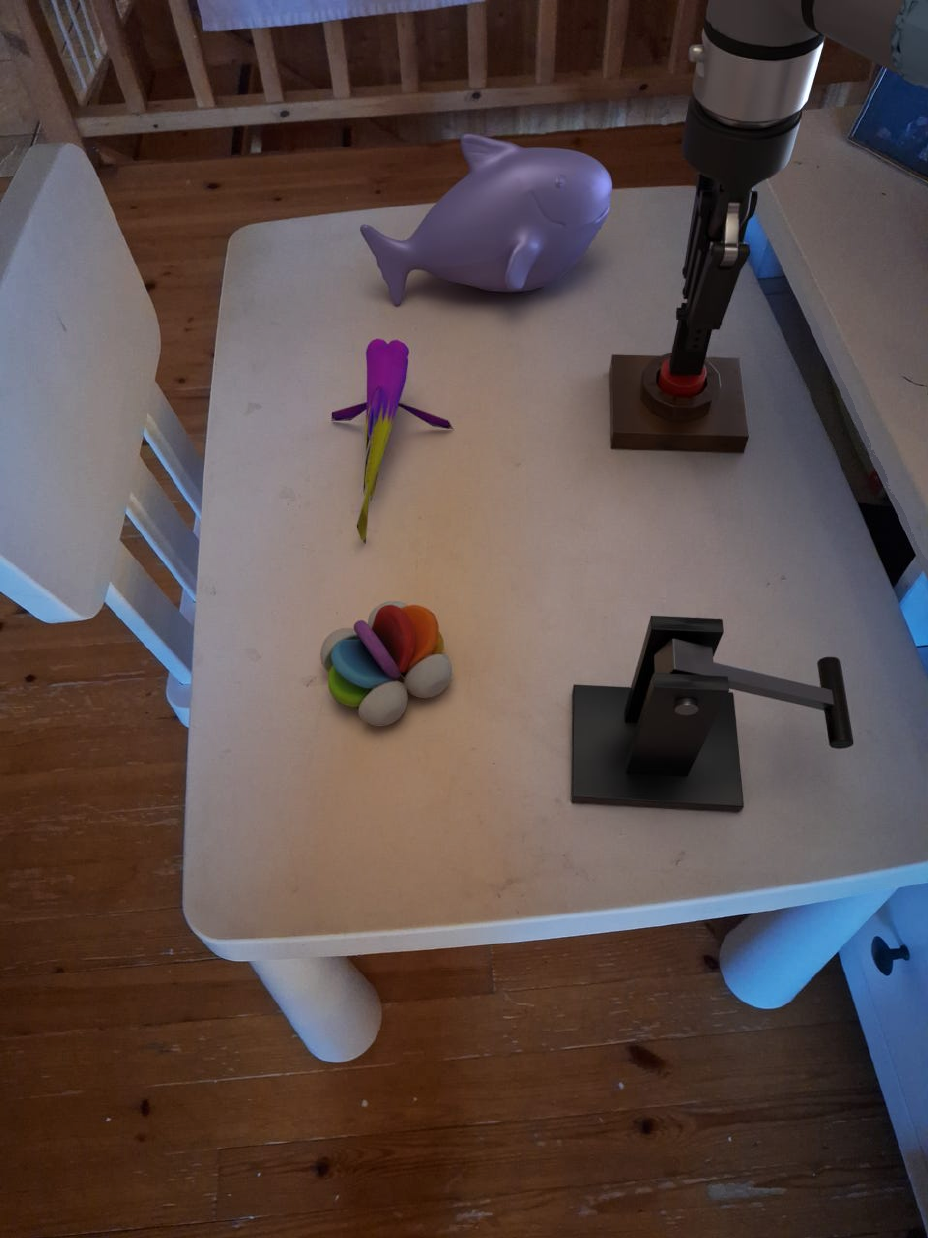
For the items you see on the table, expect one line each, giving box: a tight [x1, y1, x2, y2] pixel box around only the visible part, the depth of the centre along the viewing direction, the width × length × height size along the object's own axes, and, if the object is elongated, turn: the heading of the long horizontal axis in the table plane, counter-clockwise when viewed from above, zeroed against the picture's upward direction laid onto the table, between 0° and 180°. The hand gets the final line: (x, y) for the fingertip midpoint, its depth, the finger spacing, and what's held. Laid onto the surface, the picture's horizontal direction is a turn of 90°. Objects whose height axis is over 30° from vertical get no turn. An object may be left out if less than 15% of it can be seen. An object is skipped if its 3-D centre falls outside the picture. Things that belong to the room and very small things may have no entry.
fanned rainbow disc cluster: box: [319, 600, 453, 727], centre depth 68 cm, size 8×10×7 cm
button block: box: [608, 352, 750, 454], centre depth 83 cm, size 12×10×4 cm
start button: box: [658, 358, 706, 398], centre depth 81 cm, size 4×4×2 cm
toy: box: [330, 338, 454, 545], centre depth 79 cm, size 12×19×10 cm, turn 173°
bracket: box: [570, 615, 745, 813], centre depth 61 cm, size 12×9×15 cm
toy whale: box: [359, 133, 613, 307], centre depth 89 cm, size 14×25×16 cm, turn 101°
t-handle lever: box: [654, 638, 855, 750], centre depth 57 cm, size 13×6×2 cm, turn 86°
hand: (685, 368), depth 80 cm, fingers closed
